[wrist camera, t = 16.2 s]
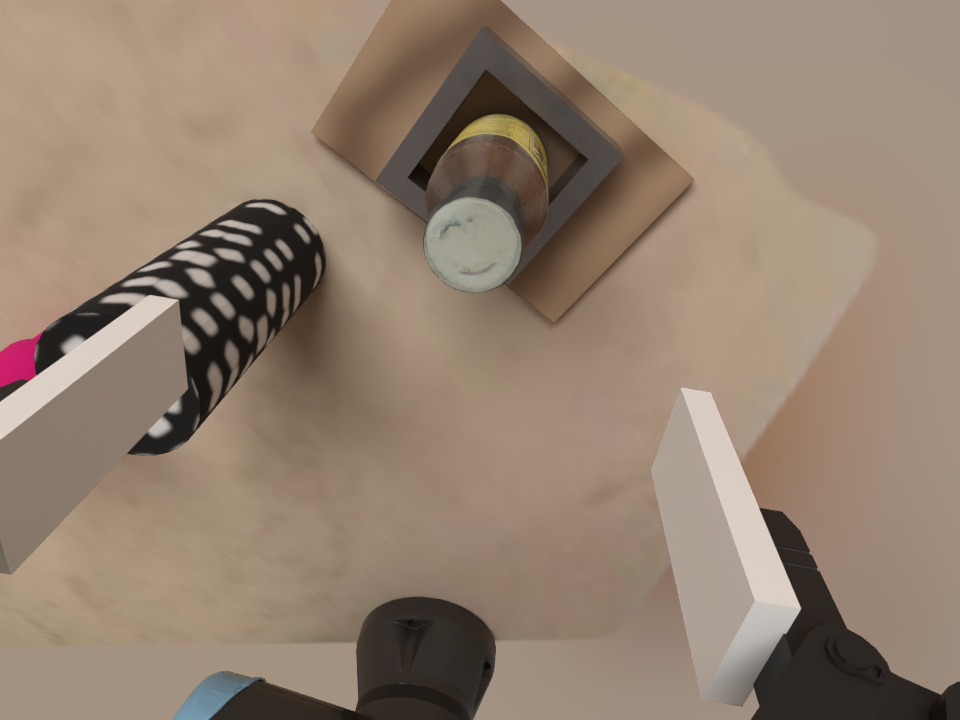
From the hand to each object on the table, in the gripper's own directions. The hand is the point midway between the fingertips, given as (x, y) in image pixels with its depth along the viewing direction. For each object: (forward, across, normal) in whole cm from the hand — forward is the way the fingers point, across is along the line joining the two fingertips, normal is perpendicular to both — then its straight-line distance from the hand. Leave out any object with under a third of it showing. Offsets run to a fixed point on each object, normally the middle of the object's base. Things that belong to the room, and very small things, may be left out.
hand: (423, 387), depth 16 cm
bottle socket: (+31, 0, 0) cm, 31 cm away
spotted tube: (+31, +16, +10) cm, 36 cm away
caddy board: (+31, 0, 0) cm, 31 cm away
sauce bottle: (+30, 0, 0) cm, 30 cm away
